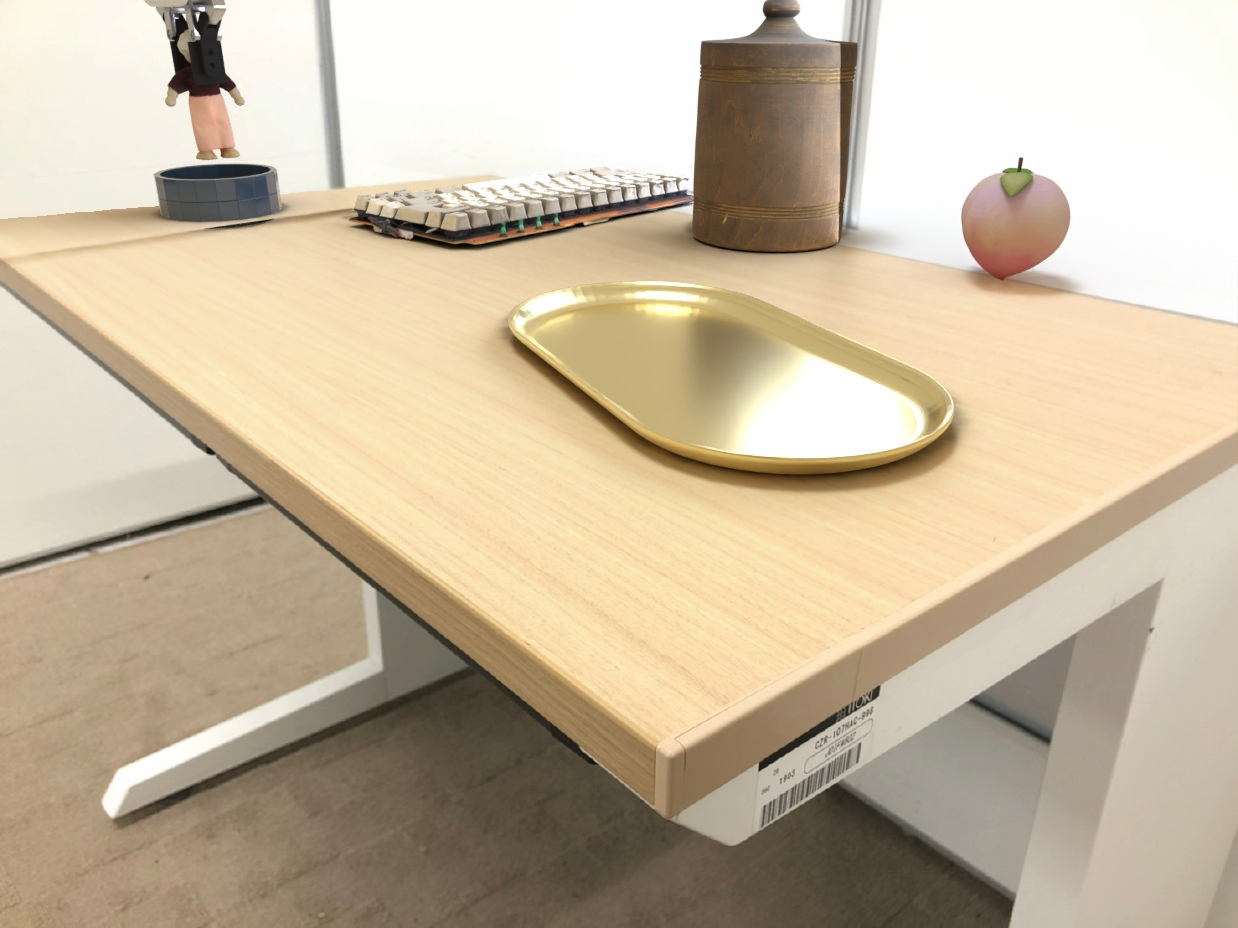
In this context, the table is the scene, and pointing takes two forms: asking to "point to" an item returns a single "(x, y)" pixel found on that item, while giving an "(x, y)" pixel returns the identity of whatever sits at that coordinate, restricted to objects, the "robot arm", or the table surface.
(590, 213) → the mechanical keyboard
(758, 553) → the table surface
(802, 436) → the serving platter
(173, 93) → the grandmother figurine
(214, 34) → the robot arm
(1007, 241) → the decorative fruit
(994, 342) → the table surface
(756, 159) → the wooden container
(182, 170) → the bowl
